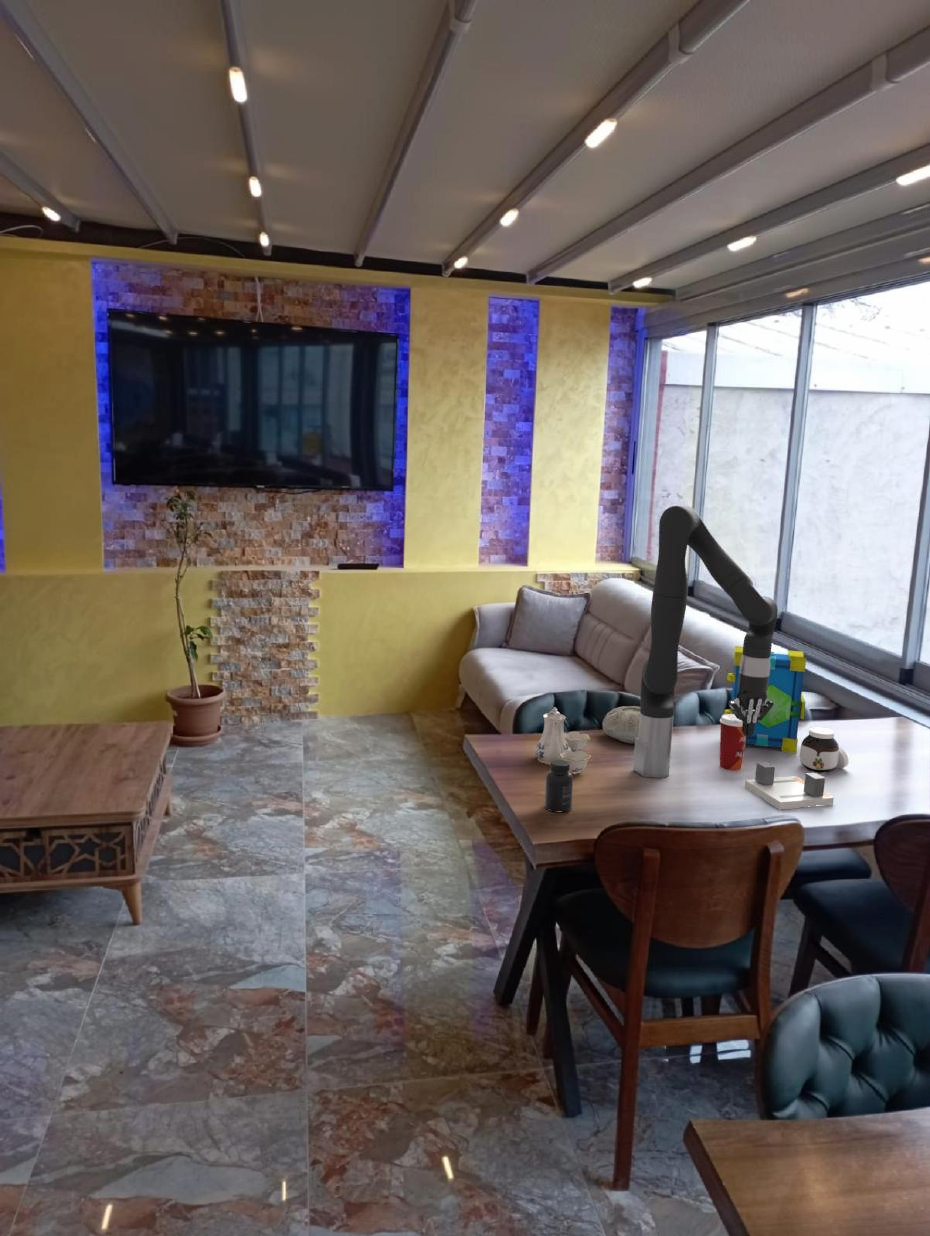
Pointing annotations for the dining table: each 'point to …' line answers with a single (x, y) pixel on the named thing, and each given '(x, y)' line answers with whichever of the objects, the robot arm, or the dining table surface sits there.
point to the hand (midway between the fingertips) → (747, 735)
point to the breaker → (814, 784)
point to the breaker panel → (787, 793)
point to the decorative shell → (623, 723)
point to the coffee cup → (731, 743)
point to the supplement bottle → (559, 786)
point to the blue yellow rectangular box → (777, 700)
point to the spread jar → (822, 751)
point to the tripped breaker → (765, 773)
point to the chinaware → (561, 743)
